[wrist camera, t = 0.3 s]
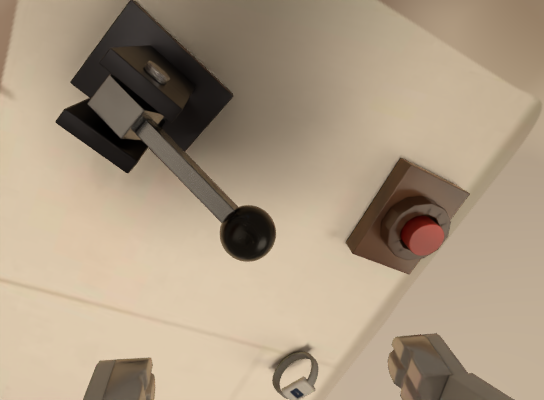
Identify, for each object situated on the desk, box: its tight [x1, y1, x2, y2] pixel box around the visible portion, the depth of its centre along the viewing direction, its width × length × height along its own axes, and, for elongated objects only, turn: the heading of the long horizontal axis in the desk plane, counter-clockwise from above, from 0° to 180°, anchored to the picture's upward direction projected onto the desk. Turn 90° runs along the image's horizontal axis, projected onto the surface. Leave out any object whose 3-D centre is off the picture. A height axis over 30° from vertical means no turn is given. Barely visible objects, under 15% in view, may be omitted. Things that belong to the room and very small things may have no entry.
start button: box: [401, 216, 444, 256], centre depth 33 cm, size 4×4×2 cm
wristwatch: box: [272, 352, 318, 400], centre depth 43 cm, size 6×3×5 cm, turn 124°
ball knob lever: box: [87, 74, 276, 262], centre depth 19 cm, size 13×3×3 cm, turn 46°
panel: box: [346, 158, 470, 274], centre depth 36 cm, size 11×8×4 cm
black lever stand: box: [56, 0, 233, 173], centre depth 23 cm, size 10×8×12 cm
